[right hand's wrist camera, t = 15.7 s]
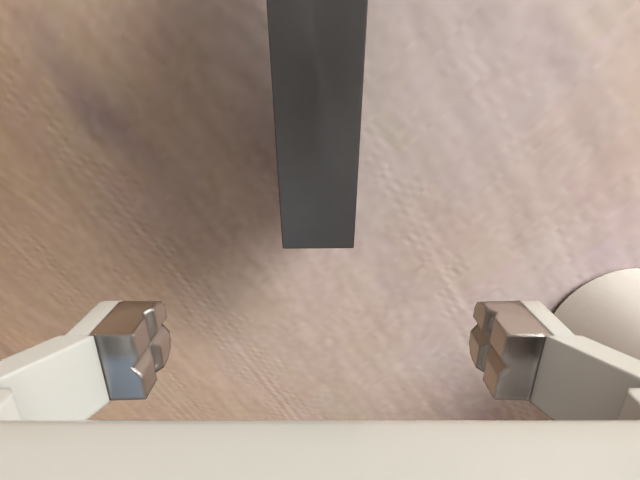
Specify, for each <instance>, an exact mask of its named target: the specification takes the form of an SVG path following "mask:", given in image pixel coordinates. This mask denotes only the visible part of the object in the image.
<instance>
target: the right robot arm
mask: <svg viewBox="0 0 640 480" xmlns="http://www.w3.org/2000/svg"><path fill="white" fill-rule="evenodd" d="M166 317H167V314H166V309H165V305H164V304H163V303H162V302H161V301H121V300H117V301H100V302H99V303H98V304H97V305H96V306H95V307H94V308H93V309H92V310H91V311H90V312H89V313H88V314H86V315H85V316H84V317H83V318H82V319H81V320H80V321H79V322H78V323H77V324H76V325H75V326H74V327H73V328H72V329H71V330H70V331H69V332H68V333H67V334H66V335H63V336H56V337H54V338H51V339H49V340H47V341H44V342H42V343H40V344H37V345H35V346H32V347H30V348H28V349H25V350H23V351H21V352H18V353H16V354H14V355H11V356H9V357H7V358H4V359H2V360H0V480H640V268H630V269H623V270H618V271H614V272H611V273H607V274H605V275H602V276H600V277H597V278H595V279H593V280H591V281H589V282H588V283H586V284H584V285H583V286H581V287H580V288H578V289H577V290H576V291H574V292H573V293H572V294H571V295H570V296H569V297H568V298H567V299H566V300H565V301H564V302H563V303H562V304H561V305H560V306H559V307H558V309H557V310H556V312H555V313H554V314H553V313H552V312H550V311H549V310H548V309H547V308H546V307H545V306H544V305H543V304H542V303H541V302H539V301H536V300H530V301H492V302H477V304H476V306H475V308H474V314H473V317H474V319H475V320H476V322H477V323H478V324H477V325H476V326H475V327H474V328H473V329H472V330H471V332H470V339H469V346H470V354H471V357H472V360H473V362H474V364H475V366H476V368H478V369H480V370H481V371H483V372H484V377H483V381H484V382H485V384H486V386H487V388H488V389H489V391H490V393H491V395H492V396H493V398H494V399H499V400H530V402H531V403H532V404H533V405H535V406H536V407H537V408H539V409H540V410H541V411H542V412H544V413H545V414H546V415H548V416H549V417H550V418H552V419H553V420H87V419H89V418H90V417H91V416H92V415H94V414H95V413H96V412H98V411H99V410H100V409H102V408H103V407H104V406H106V405H107V404H108V403H109V402H110V400H139V399H146V398H147V397H148V395H149V393H150V391H151V389H152V388H153V386H154V384H155V382H156V381H157V377H156V372H157V371H159V370H160V369H162V368H164V366H165V364H166V362H167V360H168V357H169V353H170V349H171V338H170V332H169V330H168V329H167V328H166V327H165V326H164V325H163V324H162V323H163V322H164V320H165V319H166Z"/></svg>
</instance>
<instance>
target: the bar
mask: <svg viewBox="0 0 640 480" xmlns="http://www.w3.org/2000/svg"><path fill="white" fill-rule="evenodd" d="M367 6H368V0H267V15H268V30H269V45H270V61H271V76H272V91H273V107H274V122H275V137H276V153H277V168H278V183H279V199H280V214H281V229H282V244H283V249H284V248H353V247H354V232H355V215H356V197H357V180H358V163H359V145H360V128H361V110H362V93H363V76H364V58H365V41H366V23H367Z"/></svg>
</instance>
